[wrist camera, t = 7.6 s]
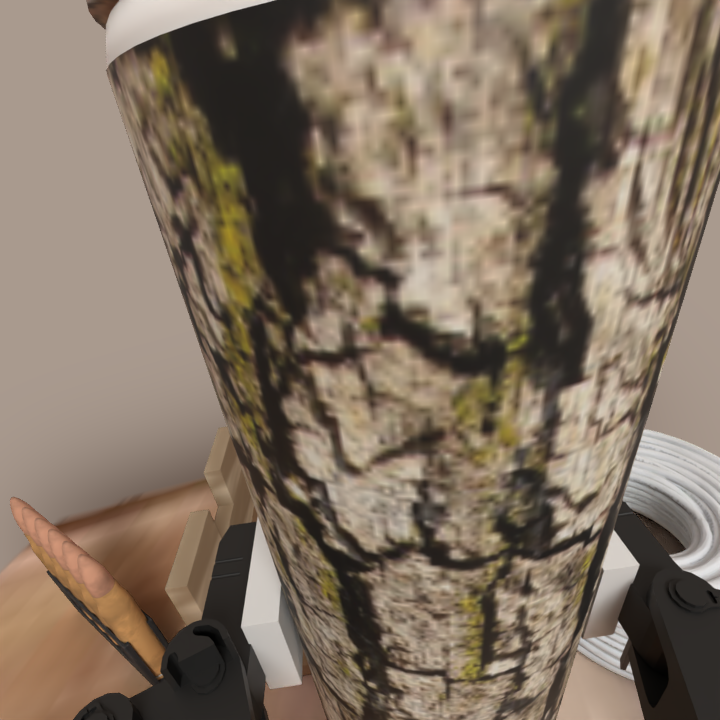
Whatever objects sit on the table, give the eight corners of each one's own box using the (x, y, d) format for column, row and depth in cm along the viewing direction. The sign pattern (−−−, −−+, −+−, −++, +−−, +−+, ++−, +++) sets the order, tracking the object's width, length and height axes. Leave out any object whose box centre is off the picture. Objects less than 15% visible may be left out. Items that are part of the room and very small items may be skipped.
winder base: (208, 691, 26) (154, 608, 21) (246, 496, 40) (218, 421, 35) (458, 649, 26) (456, 559, 22) (409, 469, 40) (402, 392, 36)
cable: (688, 470, 36) (708, 415, 33) (880, 715, 21) (947, 656, 18) (484, 471, 39) (486, 421, 36) (528, 689, 24) (537, 634, 21)
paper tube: (378, 939, 14) (-203, -176, 2) (342, 701, 20) (163, 71, 7) (560, 866, 15) (1142, -207, 2) (475, 660, 21) (515, 35, 8)
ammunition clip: (182, 662, 28) (106, 548, 22) (158, 691, 26) (70, 578, 20) (100, 589, 33) (21, 483, 27) (77, 610, 32) (-11, 502, 26)
